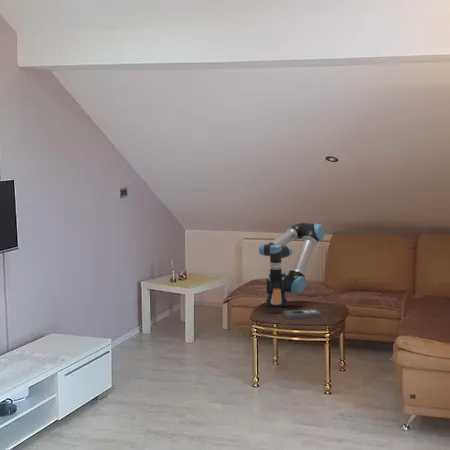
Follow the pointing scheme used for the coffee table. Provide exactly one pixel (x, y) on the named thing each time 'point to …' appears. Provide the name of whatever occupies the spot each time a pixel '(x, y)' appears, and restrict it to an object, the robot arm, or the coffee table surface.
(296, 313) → the power strip
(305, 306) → the coffee table surface
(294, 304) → the coffee table surface
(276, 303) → the charger
